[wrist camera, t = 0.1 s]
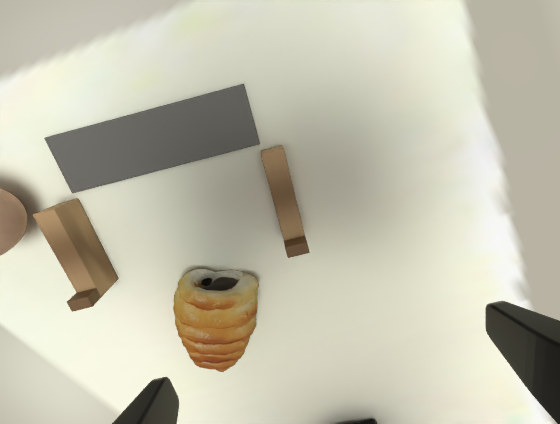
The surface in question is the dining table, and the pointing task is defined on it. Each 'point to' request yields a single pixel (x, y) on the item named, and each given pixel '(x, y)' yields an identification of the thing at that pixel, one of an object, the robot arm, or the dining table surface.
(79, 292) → the wooden blocks
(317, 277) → the dining table surface
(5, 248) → the egg
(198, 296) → the pastry
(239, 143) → the mat
